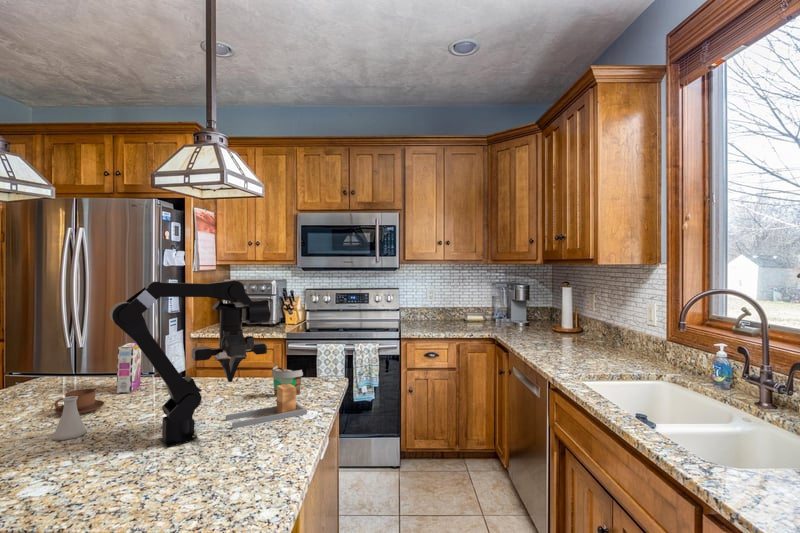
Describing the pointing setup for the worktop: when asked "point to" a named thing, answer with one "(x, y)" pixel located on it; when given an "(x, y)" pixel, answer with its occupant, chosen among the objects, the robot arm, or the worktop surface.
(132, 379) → the candy bar box
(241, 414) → the channel board
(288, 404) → the orange block
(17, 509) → the worktop surface
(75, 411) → the flask
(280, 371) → the food container
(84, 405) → the cup and saucer
